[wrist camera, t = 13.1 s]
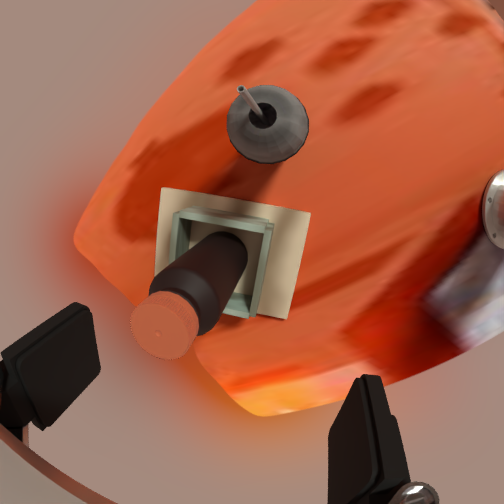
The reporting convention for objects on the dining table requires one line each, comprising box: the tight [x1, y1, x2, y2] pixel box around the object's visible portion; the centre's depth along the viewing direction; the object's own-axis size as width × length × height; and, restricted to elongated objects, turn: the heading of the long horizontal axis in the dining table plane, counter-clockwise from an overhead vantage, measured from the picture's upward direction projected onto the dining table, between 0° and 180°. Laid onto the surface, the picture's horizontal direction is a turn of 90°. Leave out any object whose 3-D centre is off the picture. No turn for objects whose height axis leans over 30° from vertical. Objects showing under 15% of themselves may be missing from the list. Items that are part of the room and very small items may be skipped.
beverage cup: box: [227, 85, 309, 164], centre depth 25 cm, size 7×7×20 cm
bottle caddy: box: [155, 187, 311, 319], centre depth 37 cm, size 20×15×6 cm
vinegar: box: [130, 231, 248, 360], centre depth 29 cm, size 7×7×20 cm
